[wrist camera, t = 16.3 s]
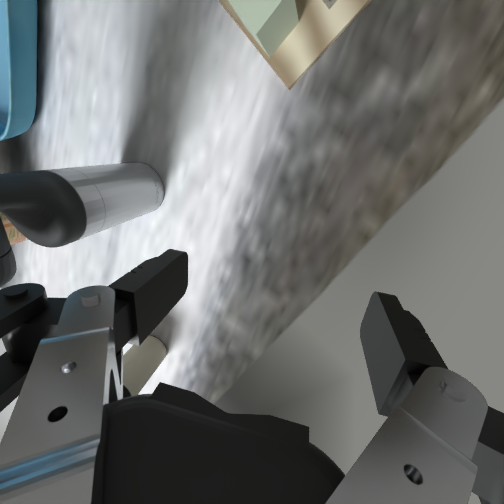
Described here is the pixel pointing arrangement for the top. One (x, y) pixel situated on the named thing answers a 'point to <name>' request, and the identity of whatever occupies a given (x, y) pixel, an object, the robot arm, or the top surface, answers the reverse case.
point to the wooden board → (306, 35)
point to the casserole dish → (17, 66)
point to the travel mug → (141, 364)
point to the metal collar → (329, 3)
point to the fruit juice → (12, 231)
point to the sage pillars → (267, 20)
